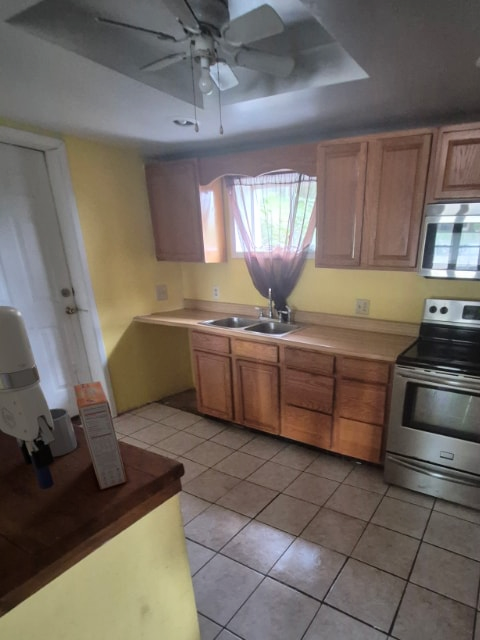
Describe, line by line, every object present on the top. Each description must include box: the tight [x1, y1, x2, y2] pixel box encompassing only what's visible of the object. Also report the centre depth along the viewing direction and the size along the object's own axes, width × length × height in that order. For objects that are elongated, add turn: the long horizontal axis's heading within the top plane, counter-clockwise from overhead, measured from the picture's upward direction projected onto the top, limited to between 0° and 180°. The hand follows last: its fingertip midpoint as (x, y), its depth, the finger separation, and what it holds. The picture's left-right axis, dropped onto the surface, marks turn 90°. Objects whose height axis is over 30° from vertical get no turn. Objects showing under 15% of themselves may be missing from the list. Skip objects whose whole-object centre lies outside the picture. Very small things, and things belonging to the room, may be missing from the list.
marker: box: [25, 438, 55, 490], centre depth 74 cm, size 2×2×11 cm
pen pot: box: [38, 407, 78, 458], centre depth 97 cm, size 8×8×10 cm
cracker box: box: [73, 380, 128, 490], centre depth 85 cm, size 14×6×21 cm, turn 33°
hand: (40, 462), depth 74 cm, fingers closed on marker, 2 cm apart
